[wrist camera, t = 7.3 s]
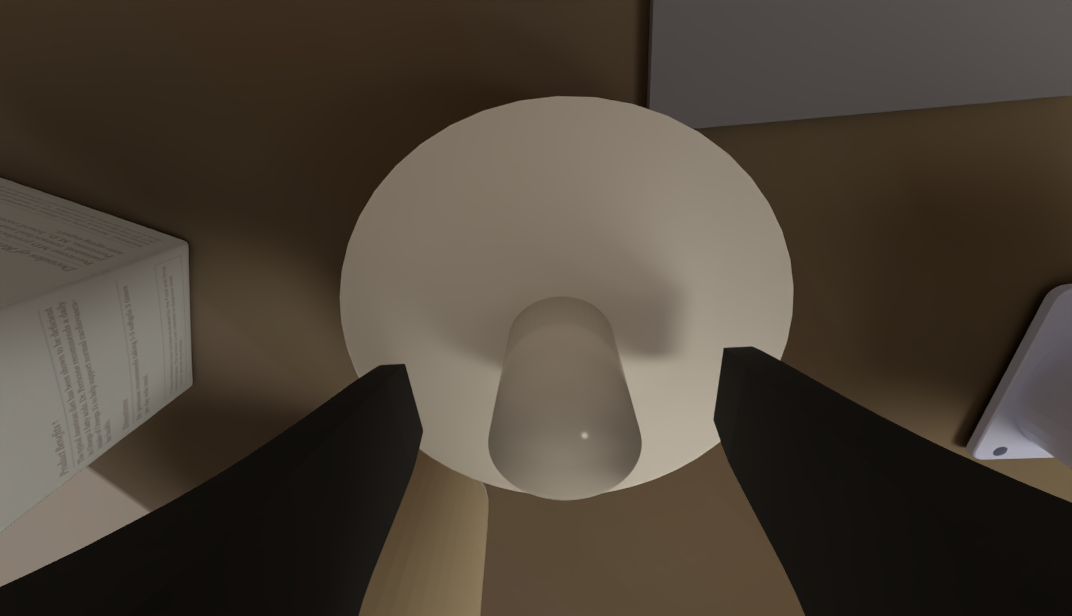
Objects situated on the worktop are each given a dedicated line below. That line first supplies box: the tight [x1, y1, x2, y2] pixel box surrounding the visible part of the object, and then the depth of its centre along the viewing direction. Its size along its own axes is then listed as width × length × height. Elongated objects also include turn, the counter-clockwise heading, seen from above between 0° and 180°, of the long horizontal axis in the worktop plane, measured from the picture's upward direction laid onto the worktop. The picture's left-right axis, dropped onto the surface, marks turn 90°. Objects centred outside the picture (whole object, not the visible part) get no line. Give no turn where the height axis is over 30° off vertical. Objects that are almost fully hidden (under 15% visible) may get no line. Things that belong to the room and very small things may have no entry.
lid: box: [340, 96, 794, 500], centre depth 9 cm, size 12×12×4 cm
